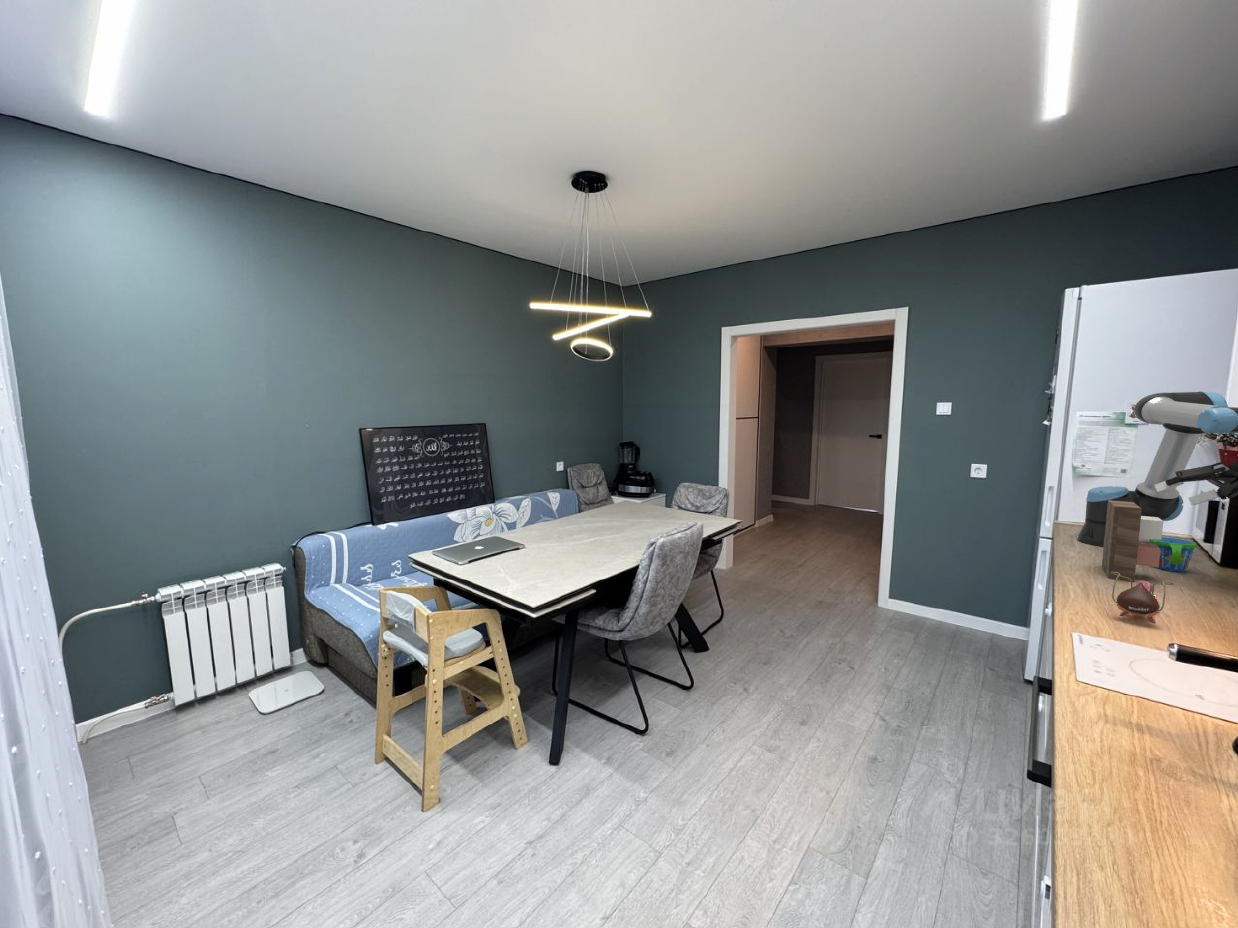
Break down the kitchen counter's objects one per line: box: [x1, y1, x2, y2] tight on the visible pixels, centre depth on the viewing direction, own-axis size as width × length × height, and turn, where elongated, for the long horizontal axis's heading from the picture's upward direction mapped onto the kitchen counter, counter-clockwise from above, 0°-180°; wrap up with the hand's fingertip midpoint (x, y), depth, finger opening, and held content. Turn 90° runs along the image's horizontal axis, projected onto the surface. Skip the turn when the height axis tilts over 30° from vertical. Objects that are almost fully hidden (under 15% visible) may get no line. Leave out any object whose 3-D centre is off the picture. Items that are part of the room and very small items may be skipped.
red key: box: [1136, 542, 1160, 568], centre depth 159 cm, size 7×5×6 cm
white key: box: [1139, 516, 1164, 540], centre depth 158 cm, size 7×5×6 cm
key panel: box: [1101, 500, 1142, 583], centre depth 162 cm, size 14×6×24 cm, turn 142°
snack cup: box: [1149, 536, 1197, 573], centre depth 167 cm, size 16×10×10 cm
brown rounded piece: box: [1111, 572, 1175, 624], centre depth 131 cm, size 11×15×17 cm
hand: (1173, 495), depth 159 cm, fingers open, 13 cm apart
